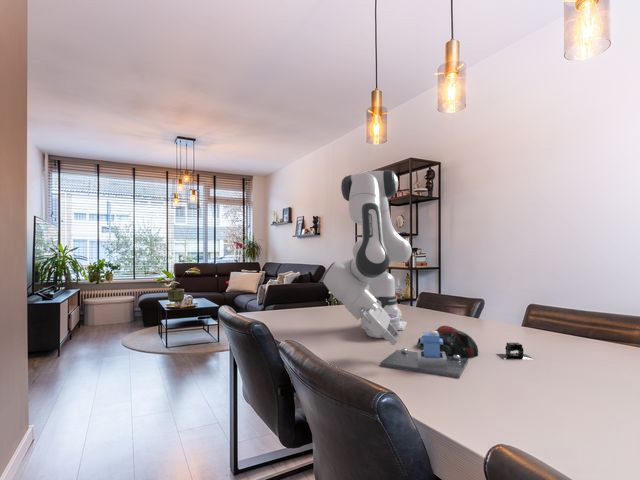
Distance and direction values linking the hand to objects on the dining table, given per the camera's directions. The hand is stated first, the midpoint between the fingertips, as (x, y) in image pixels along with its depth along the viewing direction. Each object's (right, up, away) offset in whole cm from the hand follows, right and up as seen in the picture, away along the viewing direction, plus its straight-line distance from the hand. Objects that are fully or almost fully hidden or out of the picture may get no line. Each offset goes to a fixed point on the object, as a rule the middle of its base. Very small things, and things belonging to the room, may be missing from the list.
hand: (396, 339), depth 113 cm
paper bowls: (+1, -8, +36) cm, 37 cm away
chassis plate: (+8, -7, -2) cm, 11 cm away
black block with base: (+38, -7, +5) cm, 39 cm away
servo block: (+10, -6, -3) cm, 12 cm away
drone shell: (+20, -8, +15) cm, 26 cm away
